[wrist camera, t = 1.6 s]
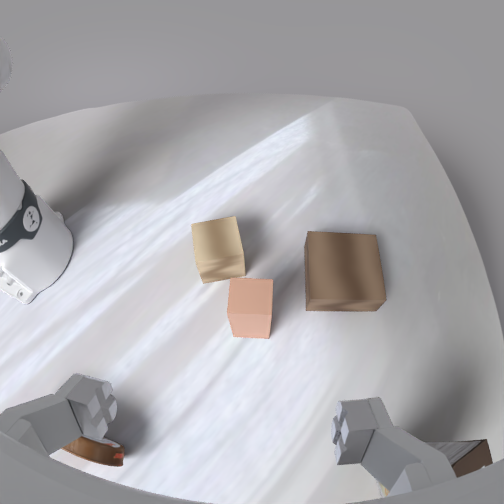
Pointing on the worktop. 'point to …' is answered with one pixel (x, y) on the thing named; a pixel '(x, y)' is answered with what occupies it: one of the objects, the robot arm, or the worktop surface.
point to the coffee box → (459, 457)
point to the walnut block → (343, 272)
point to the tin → (97, 450)
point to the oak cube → (218, 249)
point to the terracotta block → (250, 307)
